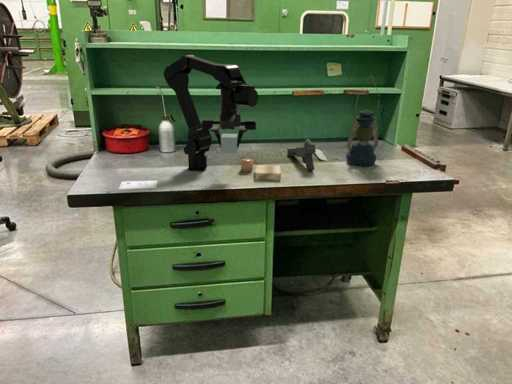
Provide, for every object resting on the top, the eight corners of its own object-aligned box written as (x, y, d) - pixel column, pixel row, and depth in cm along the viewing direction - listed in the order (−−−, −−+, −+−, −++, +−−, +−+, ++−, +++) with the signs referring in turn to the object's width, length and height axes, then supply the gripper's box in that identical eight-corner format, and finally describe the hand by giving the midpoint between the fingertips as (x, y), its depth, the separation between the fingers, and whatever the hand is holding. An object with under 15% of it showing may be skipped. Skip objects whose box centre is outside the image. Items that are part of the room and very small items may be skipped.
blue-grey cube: (221, 152, 147) (220, 137, 145) (222, 148, 152) (222, 133, 150) (236, 153, 147) (236, 137, 145) (237, 148, 152) (237, 133, 150)
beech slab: (255, 179, 151) (255, 173, 150) (255, 171, 159) (256, 165, 158) (280, 180, 151) (280, 173, 150) (279, 172, 159) (280, 165, 158)
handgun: (307, 172, 158) (306, 145, 157) (286, 169, 181) (285, 146, 180) (316, 171, 159) (315, 144, 158) (294, 169, 182) (293, 145, 181)
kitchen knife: (332, 159, 173) (321, 156, 172) (330, 165, 174) (319, 162, 173) (314, 140, 200) (304, 137, 199) (312, 145, 201) (302, 142, 200)
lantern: (354, 168, 164) (364, 76, 152) (337, 160, 175) (345, 73, 162) (384, 165, 169) (396, 75, 157) (366, 157, 180) (376, 72, 167)
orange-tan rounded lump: (240, 171, 159) (240, 161, 157) (241, 168, 163) (241, 158, 161) (252, 172, 158) (252, 162, 157) (252, 168, 162) (253, 158, 161)
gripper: (198, 107, 136) (199, 153, 142) (256, 108, 136) (255, 154, 142) (203, 101, 146) (204, 145, 152) (256, 102, 146) (255, 146, 152)
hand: (229, 147), depth 149 cm, fingers closed on blue-grey cube, 5 cm apart
